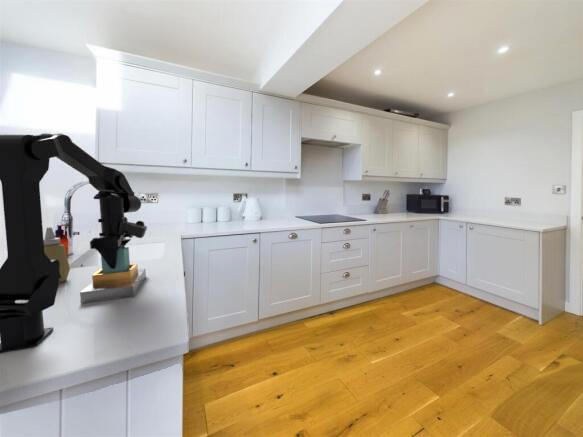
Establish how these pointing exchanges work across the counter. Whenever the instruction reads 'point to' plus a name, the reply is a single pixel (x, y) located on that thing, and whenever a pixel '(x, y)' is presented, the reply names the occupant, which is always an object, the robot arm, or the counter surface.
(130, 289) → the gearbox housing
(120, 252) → the oil can
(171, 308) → the counter surface
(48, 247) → the squeeze bottle
